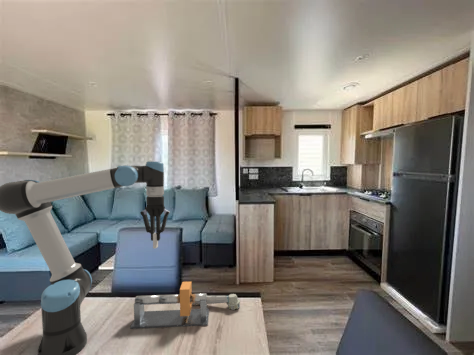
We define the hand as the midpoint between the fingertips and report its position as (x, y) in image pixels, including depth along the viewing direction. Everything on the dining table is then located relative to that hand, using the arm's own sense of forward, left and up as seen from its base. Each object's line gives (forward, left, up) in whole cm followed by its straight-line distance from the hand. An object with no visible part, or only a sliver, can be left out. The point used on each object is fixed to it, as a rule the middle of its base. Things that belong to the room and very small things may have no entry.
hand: (155, 247), depth 115 cm
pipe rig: (+8, -6, -30) cm, 32 cm away
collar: (+14, -6, -27) cm, 31 cm away
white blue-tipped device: (+26, +4, -31) cm, 40 cm away
